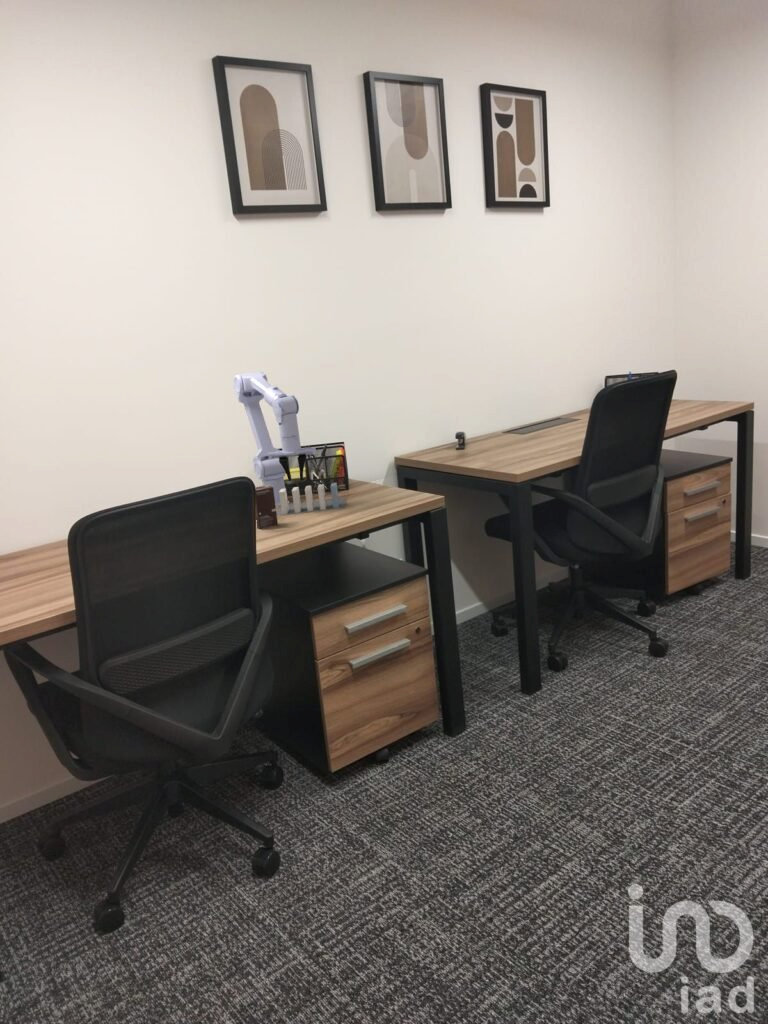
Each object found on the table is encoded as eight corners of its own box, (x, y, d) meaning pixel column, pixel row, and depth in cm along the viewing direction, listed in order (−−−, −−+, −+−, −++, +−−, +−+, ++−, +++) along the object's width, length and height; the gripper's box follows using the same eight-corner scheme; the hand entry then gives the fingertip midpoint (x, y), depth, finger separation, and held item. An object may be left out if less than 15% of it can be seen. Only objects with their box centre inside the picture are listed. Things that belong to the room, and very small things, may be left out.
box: (260, 531, 213) (254, 490, 210) (254, 528, 216) (248, 488, 213) (279, 526, 216) (273, 486, 213) (273, 523, 219) (267, 484, 216)
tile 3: (307, 511, 228) (304, 489, 227) (309, 507, 233) (306, 486, 232) (312, 510, 228) (309, 488, 227) (314, 507, 233) (311, 485, 232)
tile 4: (320, 509, 228) (317, 487, 227) (321, 506, 233) (318, 484, 232) (325, 509, 228) (322, 487, 227) (326, 505, 233) (323, 484, 232)
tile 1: (282, 514, 228) (278, 492, 227) (284, 510, 233) (280, 488, 232) (287, 513, 228) (284, 491, 227) (289, 509, 233) (285, 488, 232)
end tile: (333, 508, 228) (330, 486, 227) (334, 504, 233) (331, 483, 232) (338, 507, 228) (335, 485, 227) (339, 504, 233) (336, 482, 231)
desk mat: (274, 517, 227) (274, 516, 227) (280, 506, 242) (280, 505, 242) (345, 509, 227) (345, 508, 227) (347, 498, 241) (346, 497, 241)
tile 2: (295, 512, 228) (291, 490, 227) (296, 509, 233) (293, 487, 232) (300, 512, 228) (296, 490, 227) (301, 508, 233) (298, 486, 232)
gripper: (264, 440, 221) (271, 484, 225) (312, 435, 221) (318, 479, 225) (267, 437, 228) (273, 480, 232) (313, 432, 228) (319, 475, 232)
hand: (295, 479), depth 229 cm, fingers open, 3 cm apart
